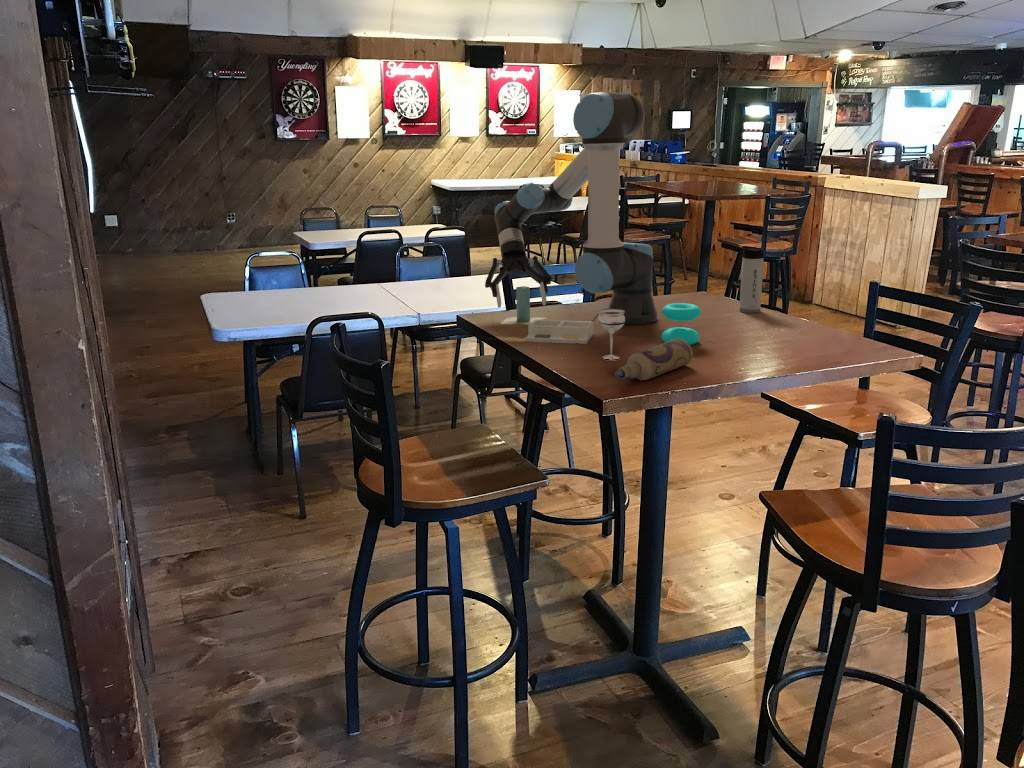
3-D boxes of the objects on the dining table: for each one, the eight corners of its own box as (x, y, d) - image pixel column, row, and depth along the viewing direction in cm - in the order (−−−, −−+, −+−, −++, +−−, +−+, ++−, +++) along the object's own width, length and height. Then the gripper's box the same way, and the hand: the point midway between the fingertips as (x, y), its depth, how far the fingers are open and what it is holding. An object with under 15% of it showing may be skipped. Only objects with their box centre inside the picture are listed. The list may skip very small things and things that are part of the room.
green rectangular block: (531, 319, 249) (531, 286, 246) (528, 322, 246) (527, 289, 243) (518, 319, 250) (517, 286, 247) (515, 321, 246) (514, 288, 244)
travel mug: (742, 308, 263) (746, 244, 257) (763, 310, 259) (767, 246, 253) (735, 311, 258) (738, 247, 252) (755, 314, 254) (760, 248, 248)
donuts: (703, 309, 215) (664, 309, 215) (702, 346, 218) (663, 347, 218) (697, 301, 224) (660, 302, 225) (696, 337, 227) (659, 338, 228)
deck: (546, 321, 251) (546, 317, 251) (539, 328, 242) (539, 325, 242) (508, 319, 254) (508, 316, 254) (499, 327, 245) (499, 323, 245)
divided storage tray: (593, 333, 234) (593, 321, 233) (586, 343, 223) (586, 331, 222) (534, 331, 238) (534, 319, 237) (525, 341, 227) (524, 329, 226)
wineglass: (605, 353, 214) (606, 307, 210) (629, 356, 210) (630, 310, 206) (592, 359, 208) (593, 312, 205) (616, 362, 205) (617, 315, 201)
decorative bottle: (667, 362, 205) (668, 335, 203) (693, 367, 200) (695, 340, 198) (601, 385, 187) (601, 356, 185) (628, 392, 182) (629, 362, 180)
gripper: (549, 252, 261) (561, 308, 251) (471, 255, 257) (479, 313, 247) (553, 237, 254) (565, 294, 245) (473, 240, 250) (481, 299, 241)
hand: (522, 304), depth 246 cm, fingers open, 13 cm apart
